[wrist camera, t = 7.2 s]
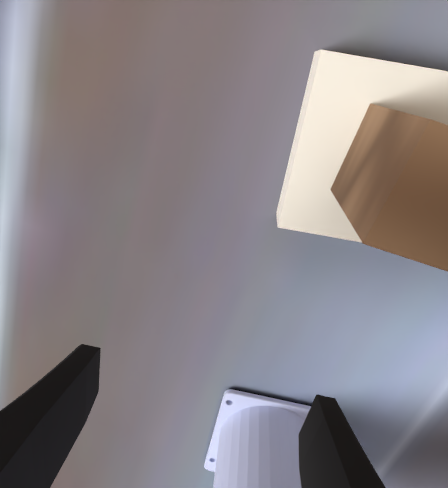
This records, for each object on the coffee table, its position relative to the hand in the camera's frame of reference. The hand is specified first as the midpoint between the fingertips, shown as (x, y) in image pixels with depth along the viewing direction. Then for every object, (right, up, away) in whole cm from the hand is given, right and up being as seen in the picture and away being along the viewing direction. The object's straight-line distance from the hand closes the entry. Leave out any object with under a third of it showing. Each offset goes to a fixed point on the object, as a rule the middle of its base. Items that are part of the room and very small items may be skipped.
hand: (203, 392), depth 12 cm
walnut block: (+8, +9, +4) cm, 13 cm away
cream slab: (+8, +10, +7) cm, 14 cm away
